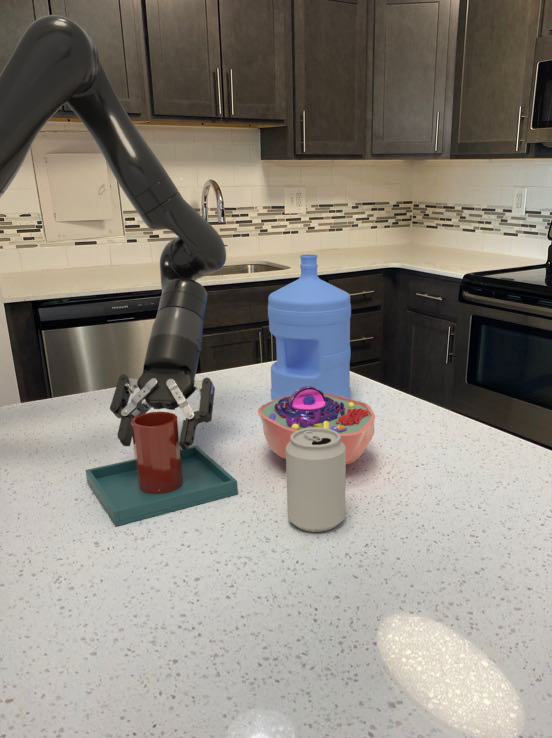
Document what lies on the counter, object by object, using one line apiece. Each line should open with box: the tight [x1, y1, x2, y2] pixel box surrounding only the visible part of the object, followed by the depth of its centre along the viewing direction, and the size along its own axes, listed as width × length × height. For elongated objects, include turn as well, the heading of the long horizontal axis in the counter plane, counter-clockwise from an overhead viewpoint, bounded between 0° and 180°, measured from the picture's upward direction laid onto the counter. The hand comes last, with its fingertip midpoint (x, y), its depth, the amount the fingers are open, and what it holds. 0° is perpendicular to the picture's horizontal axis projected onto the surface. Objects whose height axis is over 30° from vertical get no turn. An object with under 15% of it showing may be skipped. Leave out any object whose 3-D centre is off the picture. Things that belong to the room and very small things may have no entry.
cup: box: [131, 411, 183, 494], centre depth 93 cm, size 6×6×10 cm
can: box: [285, 427, 347, 533], centre depth 84 cm, size 8×8×12 cm
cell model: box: [257, 386, 376, 466], centre depth 102 cm, size 17×20×11 cm
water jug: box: [267, 254, 352, 401], centre depth 126 cm, size 16×16×28 cm
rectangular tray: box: [84, 445, 239, 527], centre depth 95 cm, size 17×15×2 cm
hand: (154, 445), depth 92 cm, fingers open, 8 cm apart
